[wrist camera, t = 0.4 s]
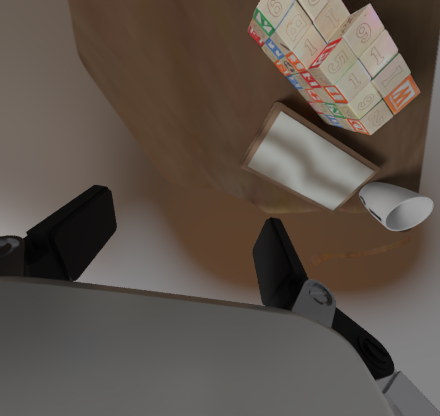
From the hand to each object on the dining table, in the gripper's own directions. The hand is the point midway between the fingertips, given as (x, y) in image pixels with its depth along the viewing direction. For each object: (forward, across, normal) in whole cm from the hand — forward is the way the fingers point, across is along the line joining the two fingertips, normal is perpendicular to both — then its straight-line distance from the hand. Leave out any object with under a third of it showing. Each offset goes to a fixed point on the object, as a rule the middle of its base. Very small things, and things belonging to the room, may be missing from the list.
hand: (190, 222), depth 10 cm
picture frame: (+29, -21, +2) cm, 36 cm away
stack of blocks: (+29, -13, -14) cm, 35 cm away
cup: (+29, -40, +4) cm, 50 cm away
